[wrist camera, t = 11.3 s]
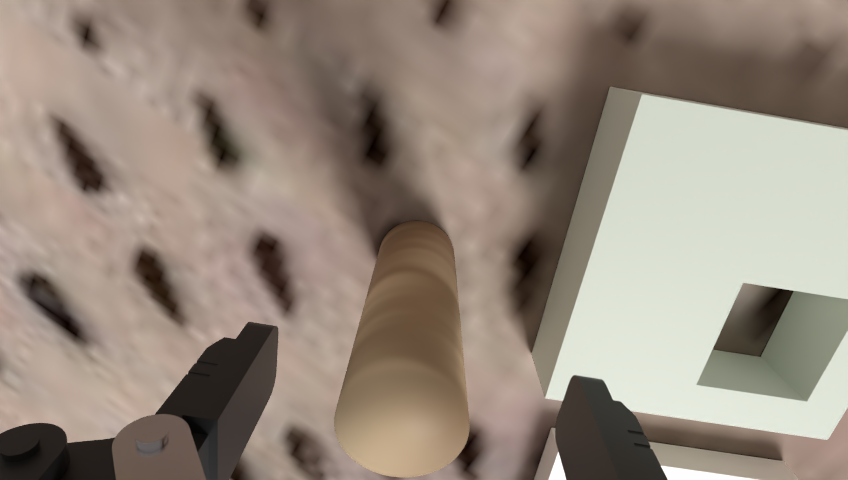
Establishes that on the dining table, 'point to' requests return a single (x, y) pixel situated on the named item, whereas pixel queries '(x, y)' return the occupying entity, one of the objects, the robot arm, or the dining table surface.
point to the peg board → (704, 265)
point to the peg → (407, 360)
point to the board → (684, 464)
